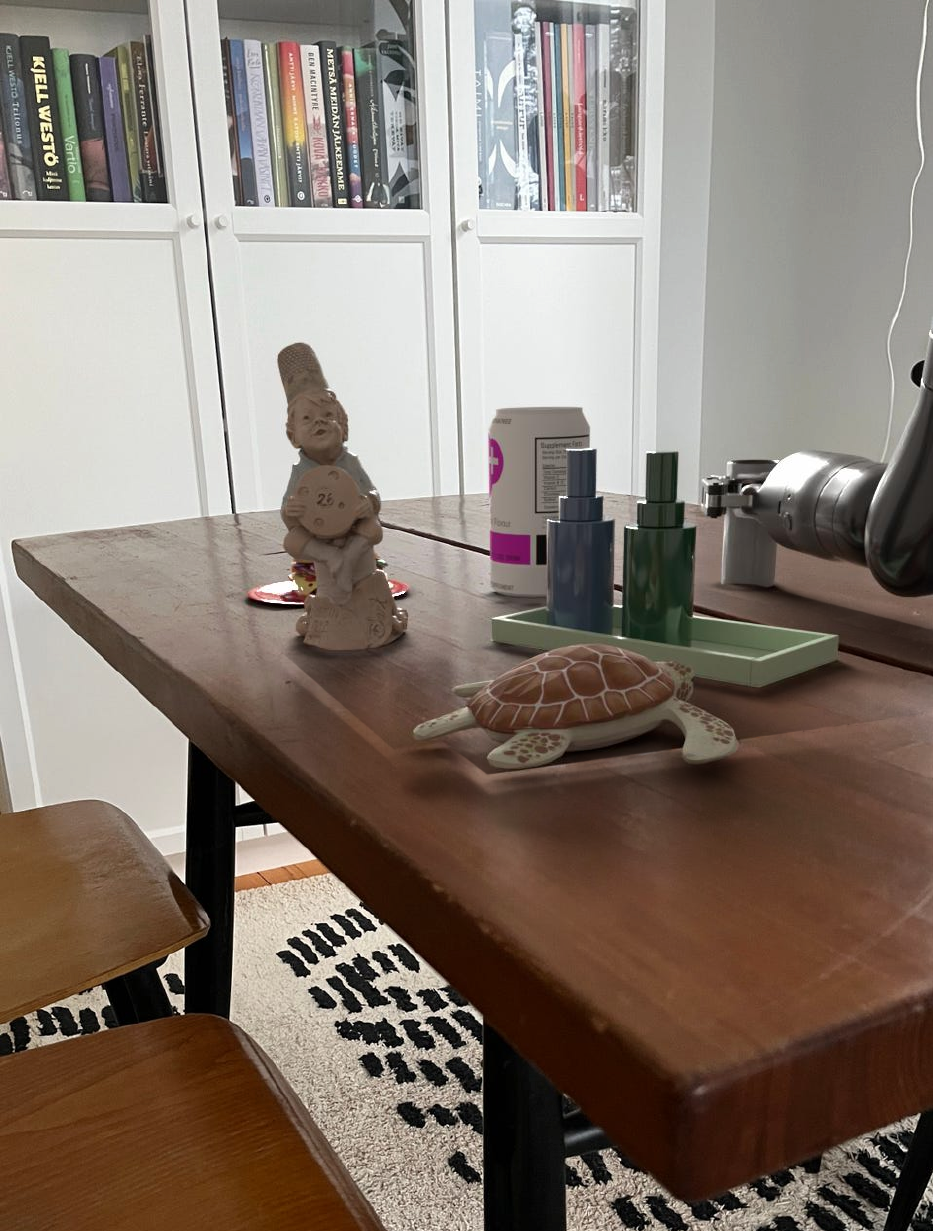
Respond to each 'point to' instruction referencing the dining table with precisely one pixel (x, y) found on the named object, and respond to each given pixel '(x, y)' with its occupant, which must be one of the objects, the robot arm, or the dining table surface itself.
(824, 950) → the dining table surface
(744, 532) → the grey cylinder
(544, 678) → the decorative turtle
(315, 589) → the red plate
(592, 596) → the blue bottle
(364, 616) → the figurine
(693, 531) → the green bottle
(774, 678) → the tray
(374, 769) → the dining table surface
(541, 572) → the supplement can
